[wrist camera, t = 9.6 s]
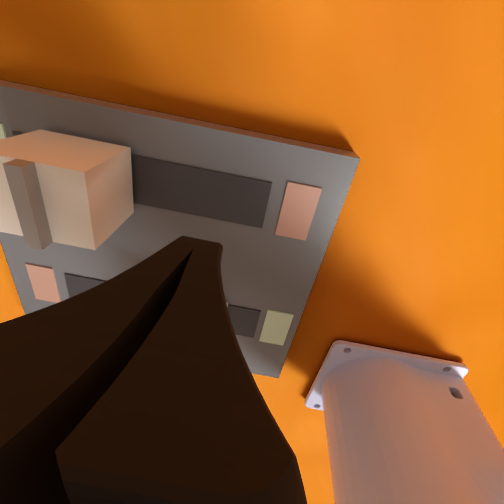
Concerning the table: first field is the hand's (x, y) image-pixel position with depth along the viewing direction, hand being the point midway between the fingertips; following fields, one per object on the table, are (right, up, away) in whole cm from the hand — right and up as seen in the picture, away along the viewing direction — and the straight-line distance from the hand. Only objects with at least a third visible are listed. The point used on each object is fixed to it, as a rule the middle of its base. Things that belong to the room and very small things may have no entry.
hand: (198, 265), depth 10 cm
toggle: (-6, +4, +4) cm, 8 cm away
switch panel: (-4, 0, +8) cm, 9 cm away
